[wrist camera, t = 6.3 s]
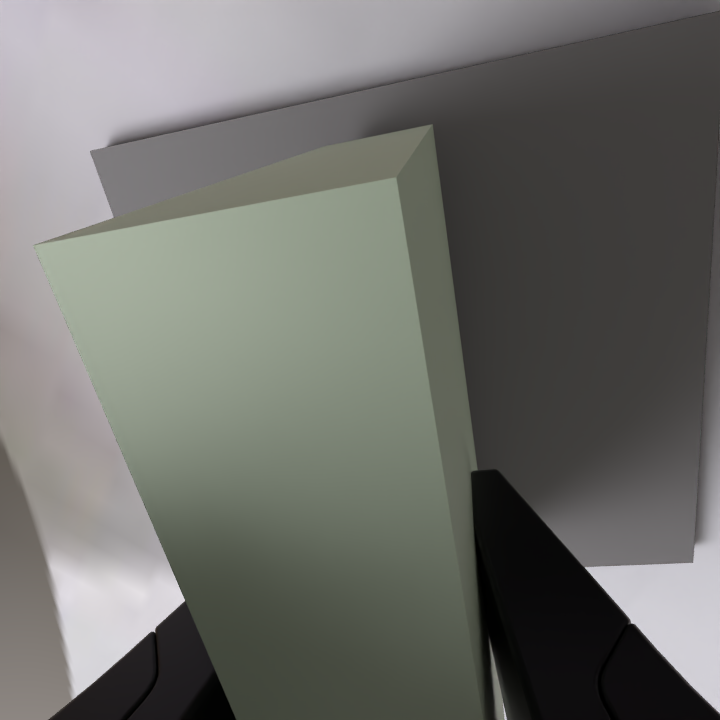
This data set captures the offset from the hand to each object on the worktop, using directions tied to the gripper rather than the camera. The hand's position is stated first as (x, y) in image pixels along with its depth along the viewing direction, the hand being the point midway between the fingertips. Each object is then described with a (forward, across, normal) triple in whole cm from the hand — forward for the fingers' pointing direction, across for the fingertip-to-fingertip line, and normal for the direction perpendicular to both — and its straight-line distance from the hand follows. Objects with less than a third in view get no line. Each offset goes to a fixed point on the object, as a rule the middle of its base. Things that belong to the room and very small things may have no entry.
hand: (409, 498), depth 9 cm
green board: (+4, 0, 0) cm, 4 cm away
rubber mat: (+5, 0, 0) cm, 5 cm away
